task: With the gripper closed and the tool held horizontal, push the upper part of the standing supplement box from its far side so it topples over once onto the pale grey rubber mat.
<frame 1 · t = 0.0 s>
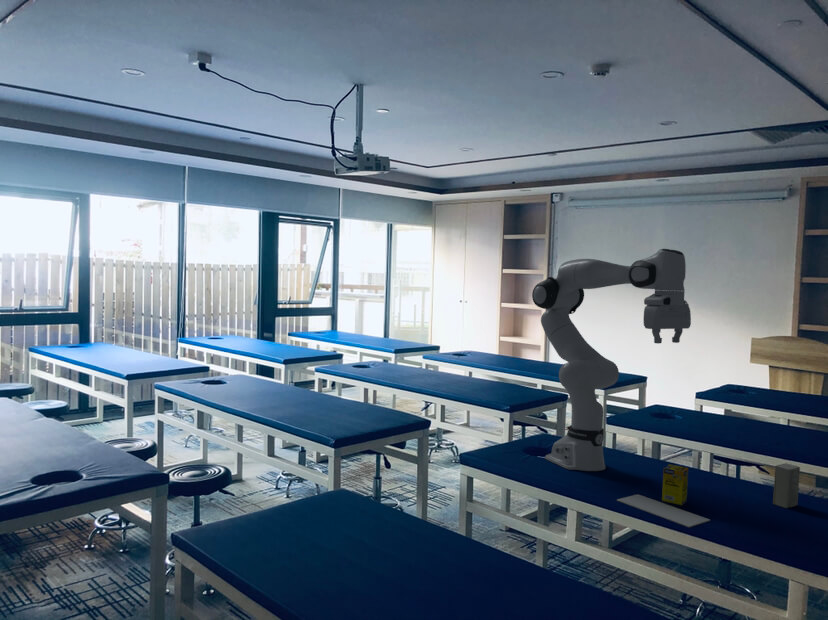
hand: (666, 343, 198), 48 cm above the table, tool pointing down, fingers open, 8 cm apart
skincare box: (785, 505, 191), on the table
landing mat: (661, 510, 183), on the table
supplement box: (674, 503, 189), on the table
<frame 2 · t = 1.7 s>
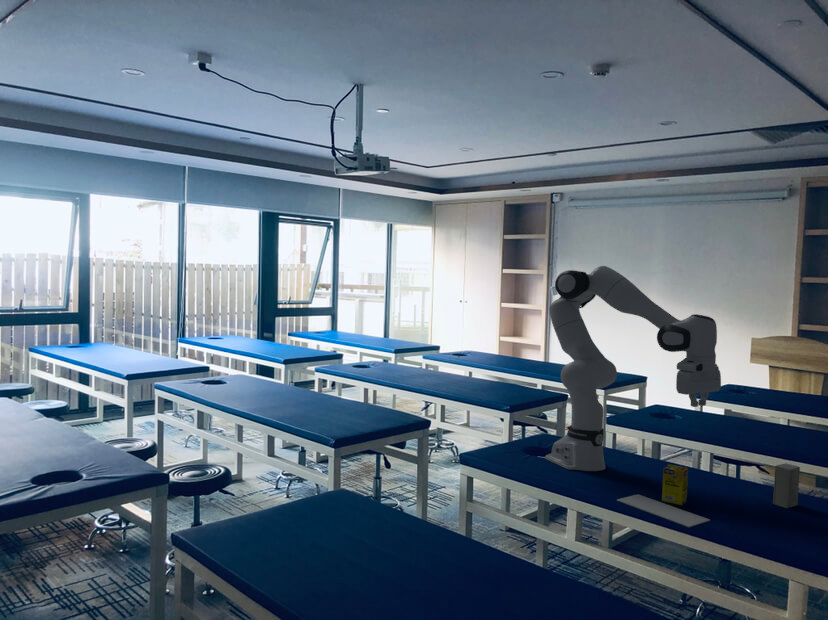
hand: (698, 406, 204), 27 cm above the table, tool pointing down, fingers open, 3 cm apart
nothing on the table moved.
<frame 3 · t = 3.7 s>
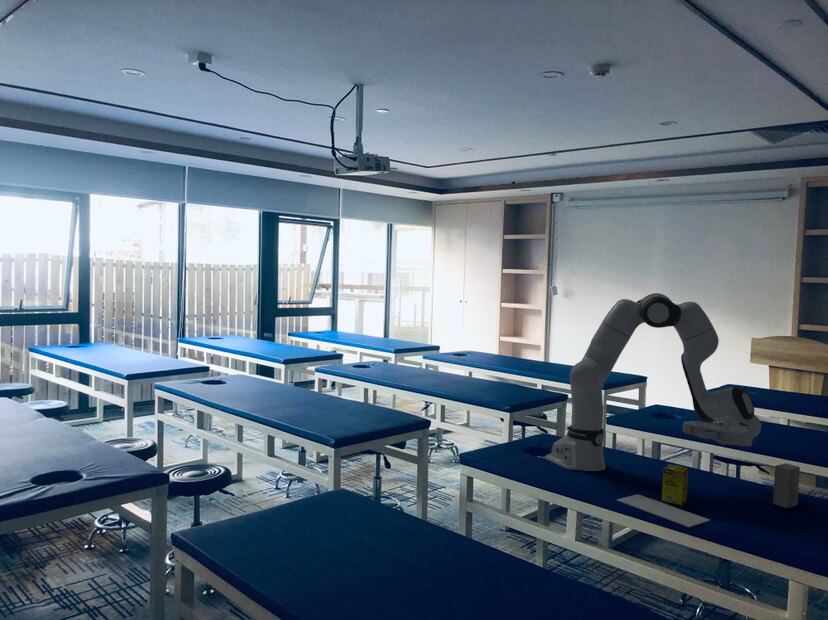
hand: (701, 435, 196), 19 cm above the table, tool horizontal, fingers closed
nothing on the table moved.
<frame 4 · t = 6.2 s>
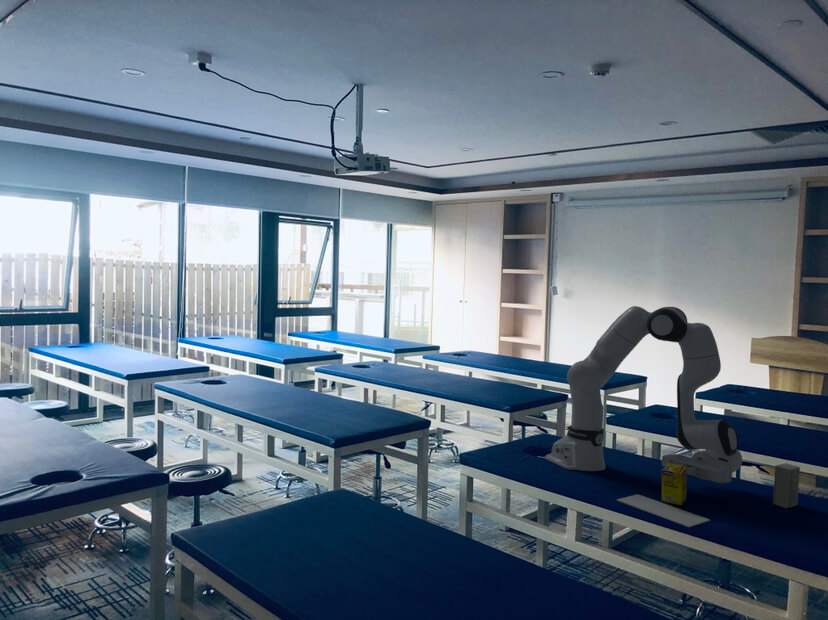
hand: (680, 471, 190), 10 cm above the table, tool horizontal, fingers closed
supplement box: (674, 502, 189), on the table, touching gripper
everything else where it was.
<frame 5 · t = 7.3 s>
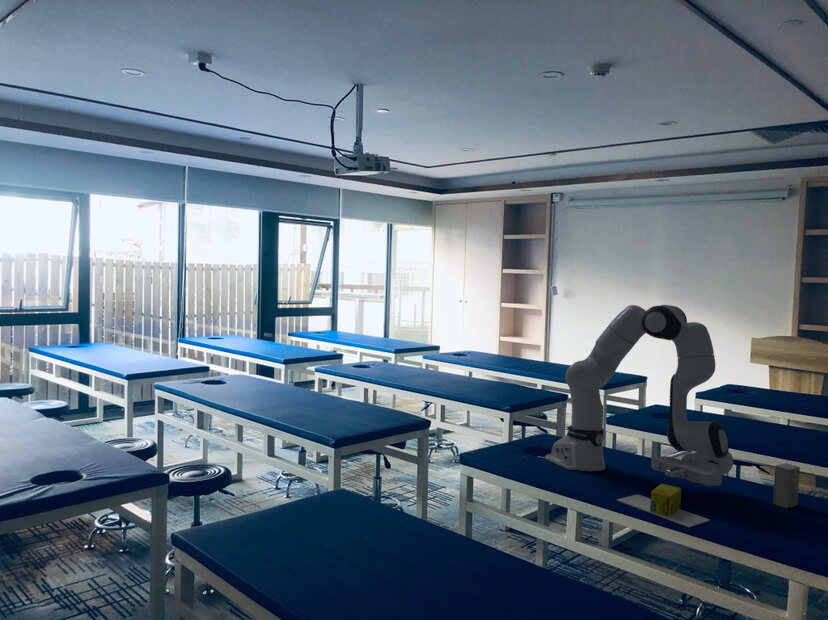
hand: (669, 473, 187), 9 cm above the table, tool horizontal, fingers closed
supplement box: (671, 494, 187), point 3 cm above the table, touching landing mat
everything else where it was.
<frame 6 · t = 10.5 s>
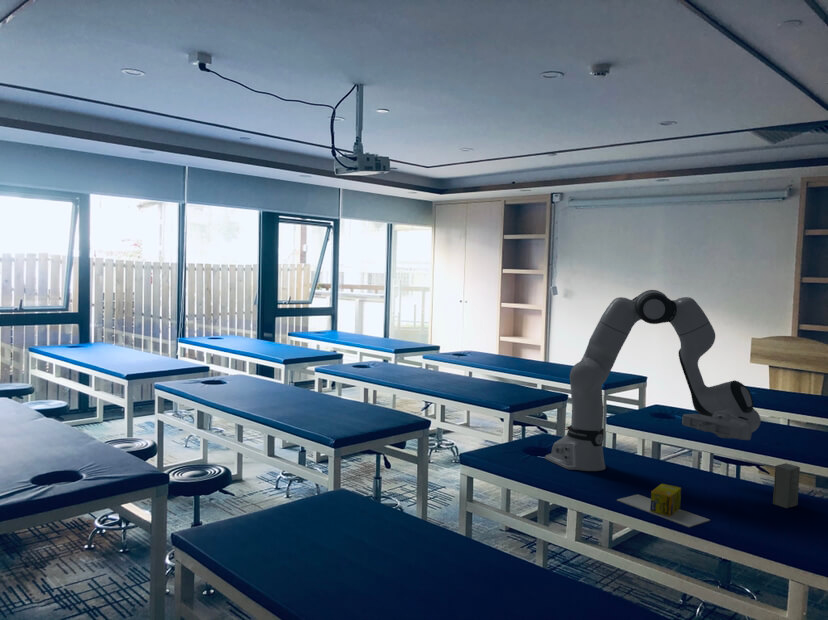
hand: (701, 427, 195), 22 cm above the table, tool horizontal, fingers closed
nothing on the table moved.
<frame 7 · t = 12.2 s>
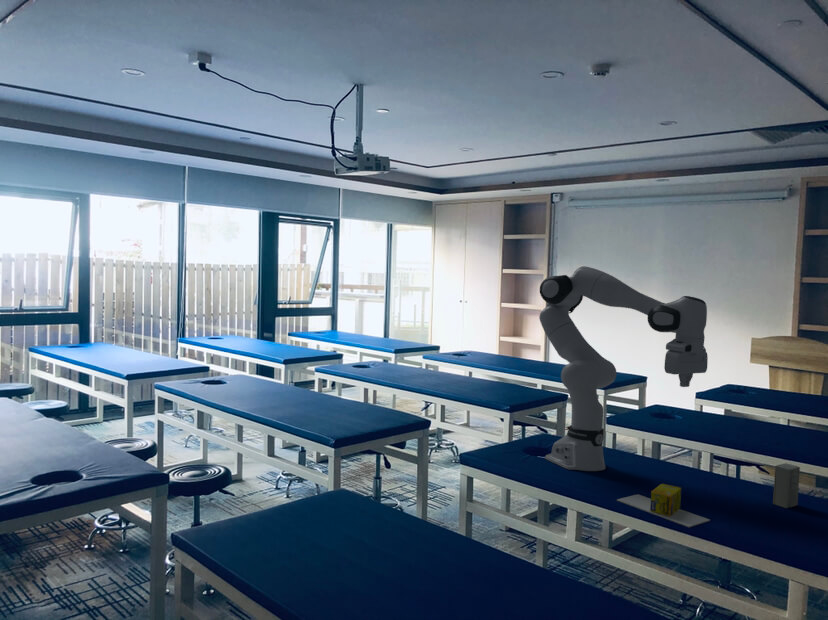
hand: (684, 386, 206), 33 cm above the table, tool pointing down, fingers closed
nothing on the table moved.
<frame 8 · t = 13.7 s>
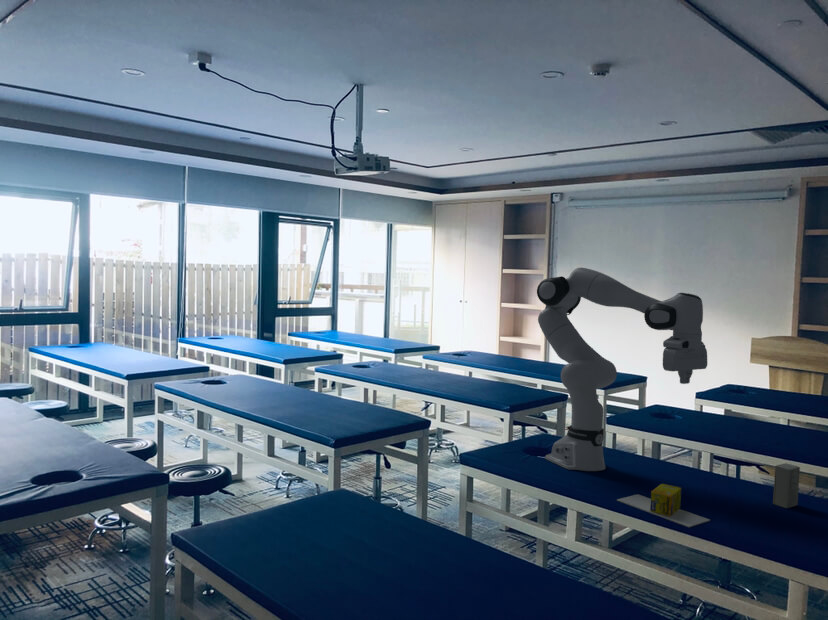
hand: (684, 383, 206), 34 cm above the table, tool pointing down, fingers closed
nothing on the table moved.
at the end: supplement box tilted 90°; supplement box inside the target area (1.2 cm from its centre), point 3.3 cm above the table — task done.
